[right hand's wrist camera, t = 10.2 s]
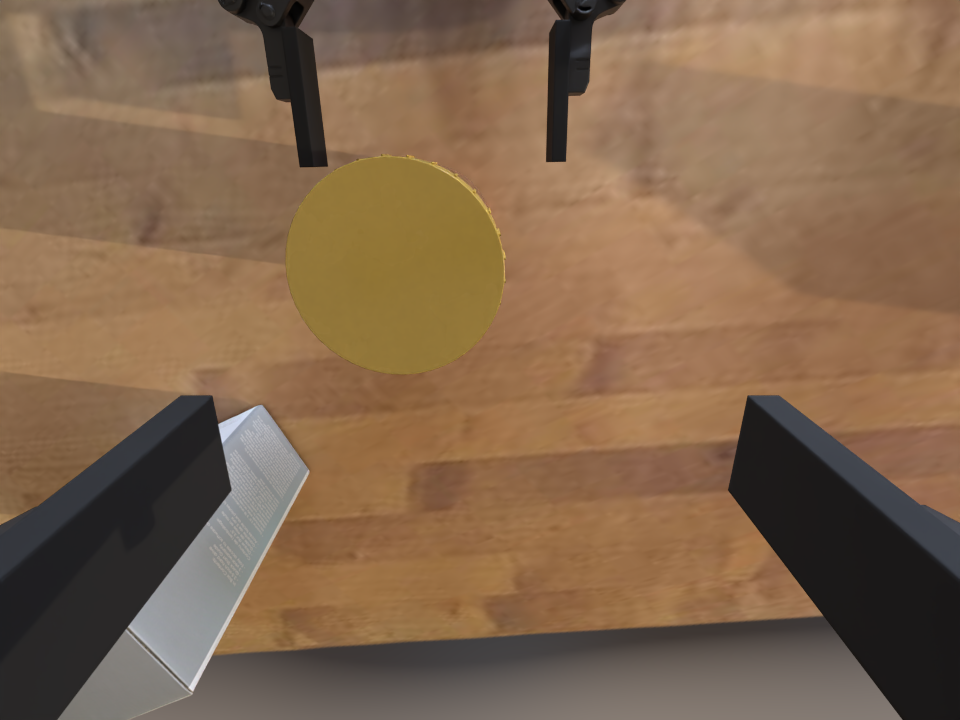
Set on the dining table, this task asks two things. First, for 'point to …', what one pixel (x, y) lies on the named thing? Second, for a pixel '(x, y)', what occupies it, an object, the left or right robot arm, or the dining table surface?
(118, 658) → the hard drive box
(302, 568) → the dining table surface
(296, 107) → the left robot arm
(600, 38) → the dining table surface
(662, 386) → the dining table surface
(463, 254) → the lid
